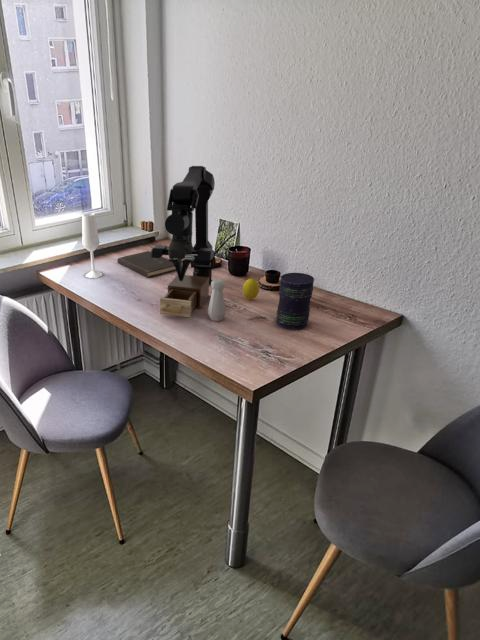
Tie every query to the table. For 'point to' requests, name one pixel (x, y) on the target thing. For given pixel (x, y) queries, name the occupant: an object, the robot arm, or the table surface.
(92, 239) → the champagne flute
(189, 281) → the cabinet
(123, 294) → the table surface
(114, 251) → the table surface
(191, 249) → the robot arm
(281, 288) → the storage jar
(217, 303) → the white bowling pin
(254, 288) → the lemon
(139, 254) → the hardcover book
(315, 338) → the table surface
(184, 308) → the drawer
